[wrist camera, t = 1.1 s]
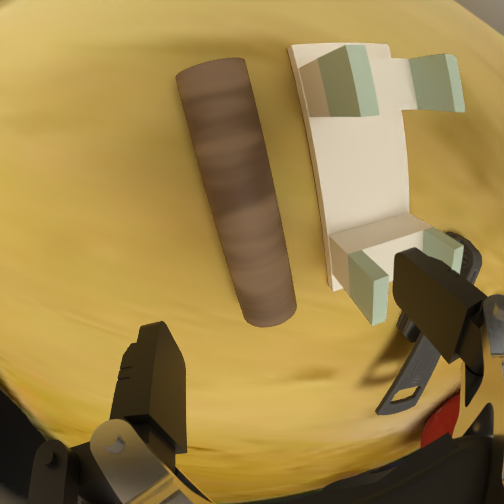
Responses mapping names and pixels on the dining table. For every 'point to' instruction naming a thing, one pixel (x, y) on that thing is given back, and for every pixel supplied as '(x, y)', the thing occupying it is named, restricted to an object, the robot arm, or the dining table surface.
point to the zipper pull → (424, 344)
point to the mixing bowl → (441, 421)
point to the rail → (239, 186)
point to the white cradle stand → (369, 159)
